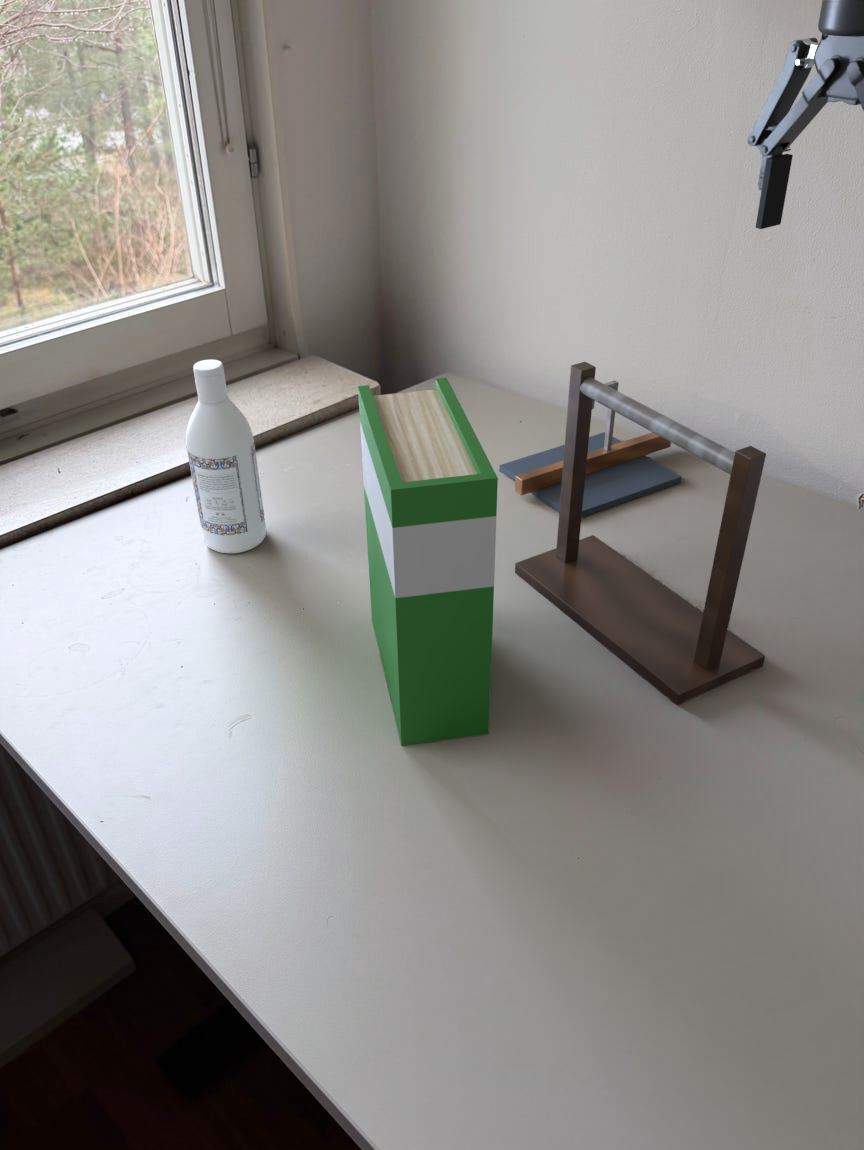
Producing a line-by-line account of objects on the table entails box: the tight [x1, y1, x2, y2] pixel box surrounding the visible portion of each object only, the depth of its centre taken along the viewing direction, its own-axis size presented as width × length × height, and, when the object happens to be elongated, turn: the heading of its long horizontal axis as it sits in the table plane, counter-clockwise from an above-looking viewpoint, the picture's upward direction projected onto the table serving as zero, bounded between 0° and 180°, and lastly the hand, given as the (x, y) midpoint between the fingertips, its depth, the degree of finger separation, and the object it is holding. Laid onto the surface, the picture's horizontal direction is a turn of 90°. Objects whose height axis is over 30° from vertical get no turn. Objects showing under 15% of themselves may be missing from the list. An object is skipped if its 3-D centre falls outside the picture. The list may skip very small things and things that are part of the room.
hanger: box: [514, 380, 672, 496], centre depth 111 cm, size 22×1×10 cm, turn 119°
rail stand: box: [514, 361, 767, 706], centre depth 86 cm, size 10×24×22 cm, turn 29°
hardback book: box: [357, 377, 499, 746], centre depth 80 cm, size 18×7×24 cm, turn 9°
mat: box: [498, 431, 683, 518], centre depth 115 cm, size 16×14×1 cm
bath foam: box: [185, 359, 267, 554], centre depth 101 cm, size 7×7×20 cm
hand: (820, 240), depth 94 cm, fingers open, 13 cm apart
